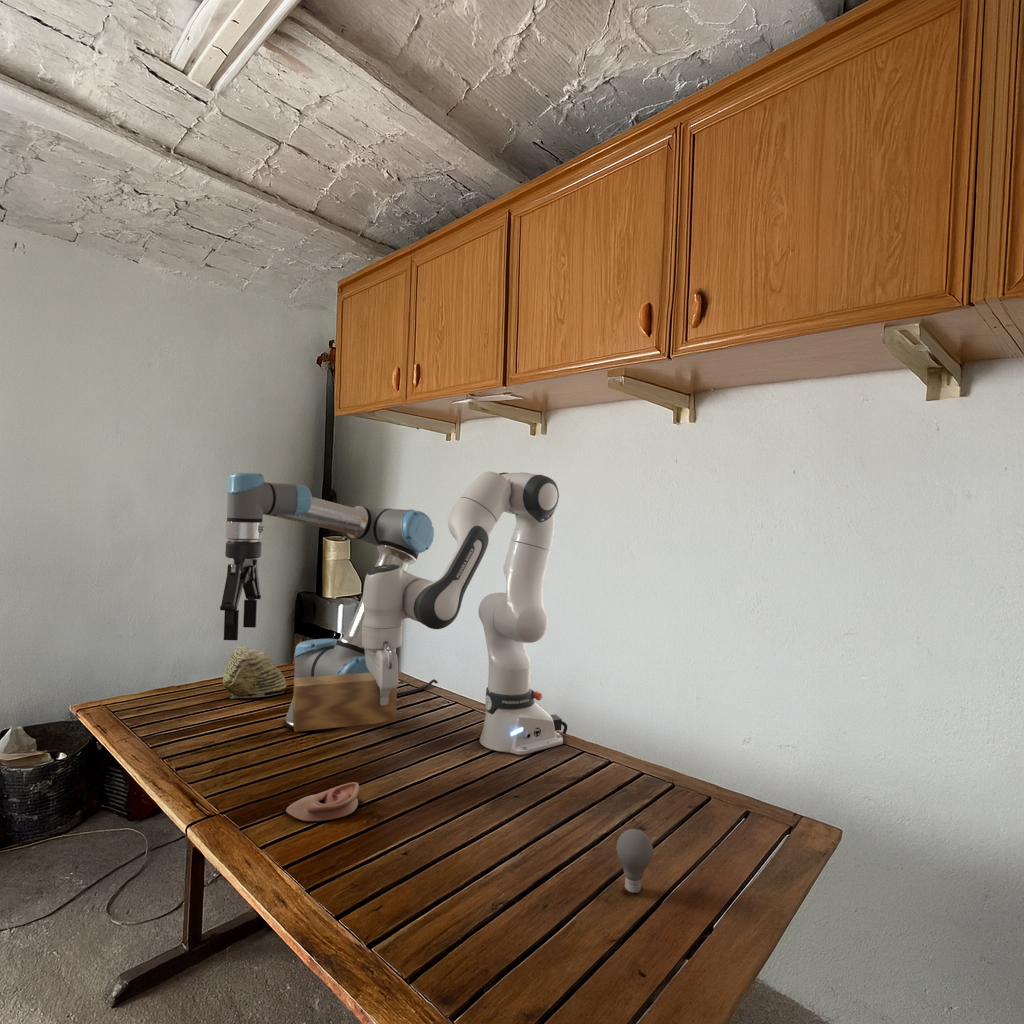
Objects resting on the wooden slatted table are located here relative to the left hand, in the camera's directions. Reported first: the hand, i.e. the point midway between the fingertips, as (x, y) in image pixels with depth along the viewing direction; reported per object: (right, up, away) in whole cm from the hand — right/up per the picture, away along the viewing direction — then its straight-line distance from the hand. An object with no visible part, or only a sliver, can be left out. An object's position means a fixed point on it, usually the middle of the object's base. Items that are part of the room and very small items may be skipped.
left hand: (240, 633), depth 144 cm
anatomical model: (+24, -33, -16) cm, 43 cm away
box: (+25, -18, -5) cm, 32 cm away
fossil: (-19, -30, +54) cm, 64 cm away
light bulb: (+82, -36, -39) cm, 98 cm away
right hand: (+32, -14, -2) cm, 35 cm away
